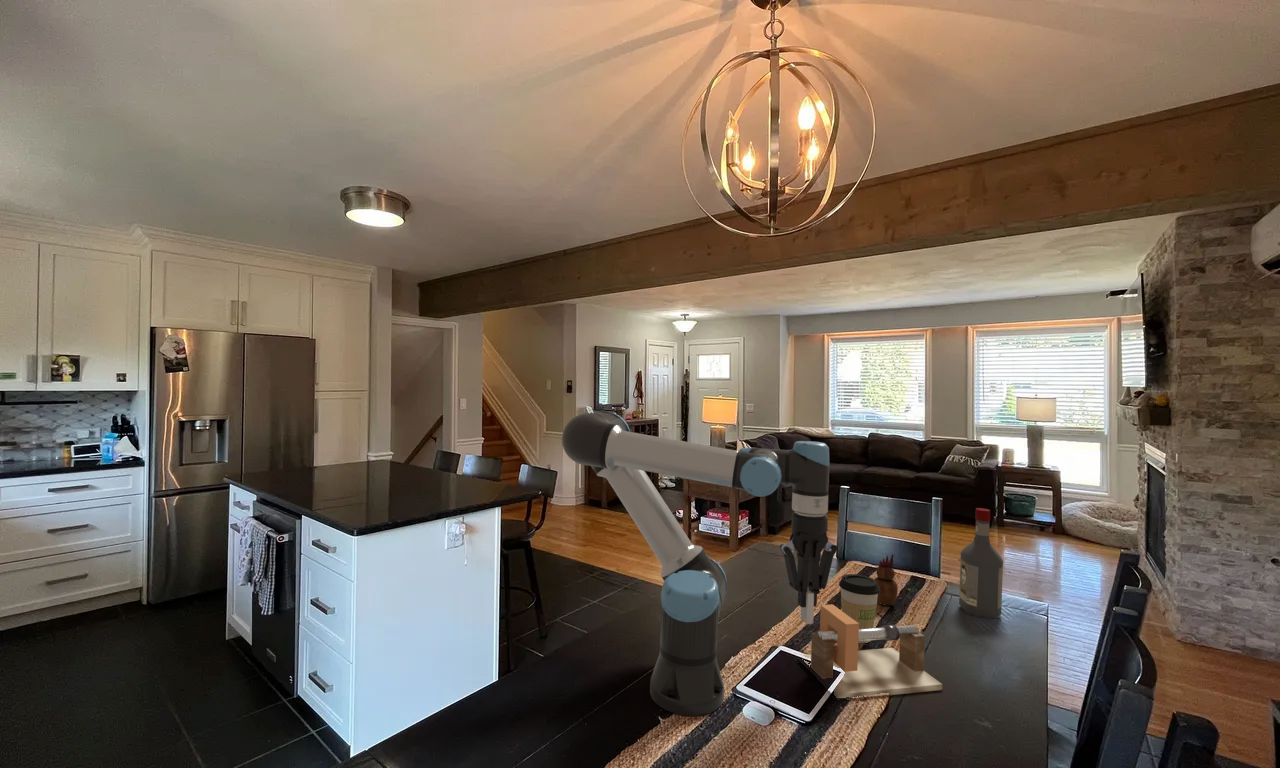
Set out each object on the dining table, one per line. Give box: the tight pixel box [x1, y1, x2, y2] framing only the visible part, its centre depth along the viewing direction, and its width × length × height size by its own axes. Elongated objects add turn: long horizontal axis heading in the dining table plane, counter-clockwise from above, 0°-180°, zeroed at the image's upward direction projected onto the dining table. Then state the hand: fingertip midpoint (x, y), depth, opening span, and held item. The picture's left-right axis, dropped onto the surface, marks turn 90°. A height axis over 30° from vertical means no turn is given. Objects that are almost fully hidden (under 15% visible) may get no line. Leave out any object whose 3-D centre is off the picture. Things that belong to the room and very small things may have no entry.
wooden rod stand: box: [802, 631, 943, 698], centre depth 120 cm, size 25×16×9 cm, turn 102°
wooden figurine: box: [873, 554, 899, 606], centre depth 161 cm, size 7×6×15 cm
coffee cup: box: [838, 573, 880, 643], centre depth 137 cm, size 10×10×15 cm
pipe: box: [816, 624, 920, 643], centre depth 120 cm, size 24×3×3 cm, turn 102°
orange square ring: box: [819, 604, 859, 672], centre depth 118 cm, size 3×10×10 cm, turn 12°
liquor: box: [958, 507, 1004, 620], centre depth 157 cm, size 9×9×30 cm
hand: (806, 621), depth 117 cm, fingers closed
